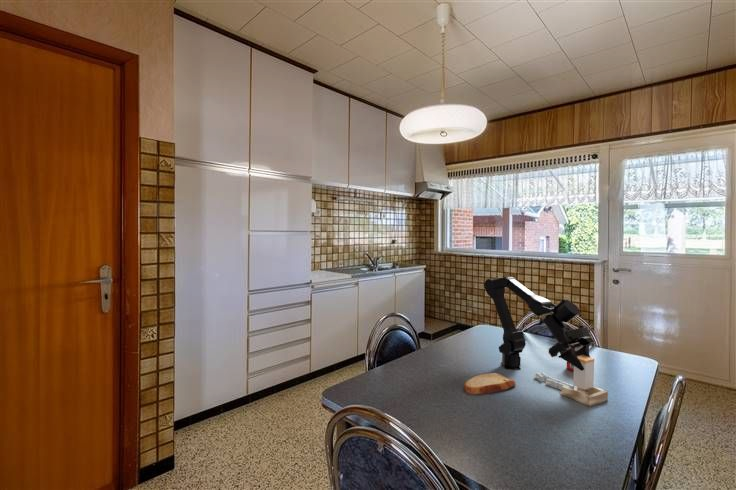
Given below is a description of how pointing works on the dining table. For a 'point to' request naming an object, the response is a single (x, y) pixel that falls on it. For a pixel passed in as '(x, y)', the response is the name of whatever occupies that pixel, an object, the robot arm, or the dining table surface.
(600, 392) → the holder
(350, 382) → the dining table surface
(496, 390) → the bread slice
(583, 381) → the orange-topped block
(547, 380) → the clip
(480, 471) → the dining table surface
